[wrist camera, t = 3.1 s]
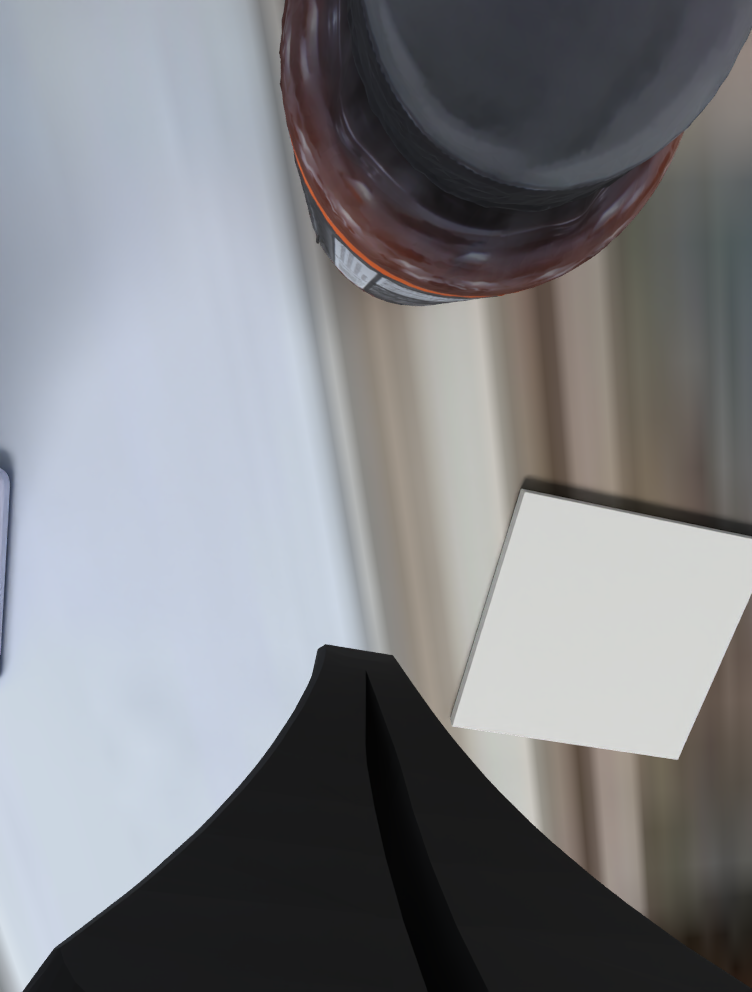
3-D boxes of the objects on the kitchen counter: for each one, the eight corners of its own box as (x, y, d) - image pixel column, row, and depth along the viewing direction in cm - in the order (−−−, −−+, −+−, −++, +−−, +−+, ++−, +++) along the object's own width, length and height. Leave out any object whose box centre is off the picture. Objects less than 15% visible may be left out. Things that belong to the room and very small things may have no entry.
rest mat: (449, 719, 21) (452, 726, 21) (521, 488, 19) (524, 491, 18) (671, 752, 22) (677, 759, 22) (765, 539, 20) (773, 543, 19)
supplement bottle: (331, 41, 15) (326, -720, 4) (545, 108, 16) (1023, -376, 5) (287, 280, 16) (197, 196, 6) (484, 330, 17) (740, 341, 6)
